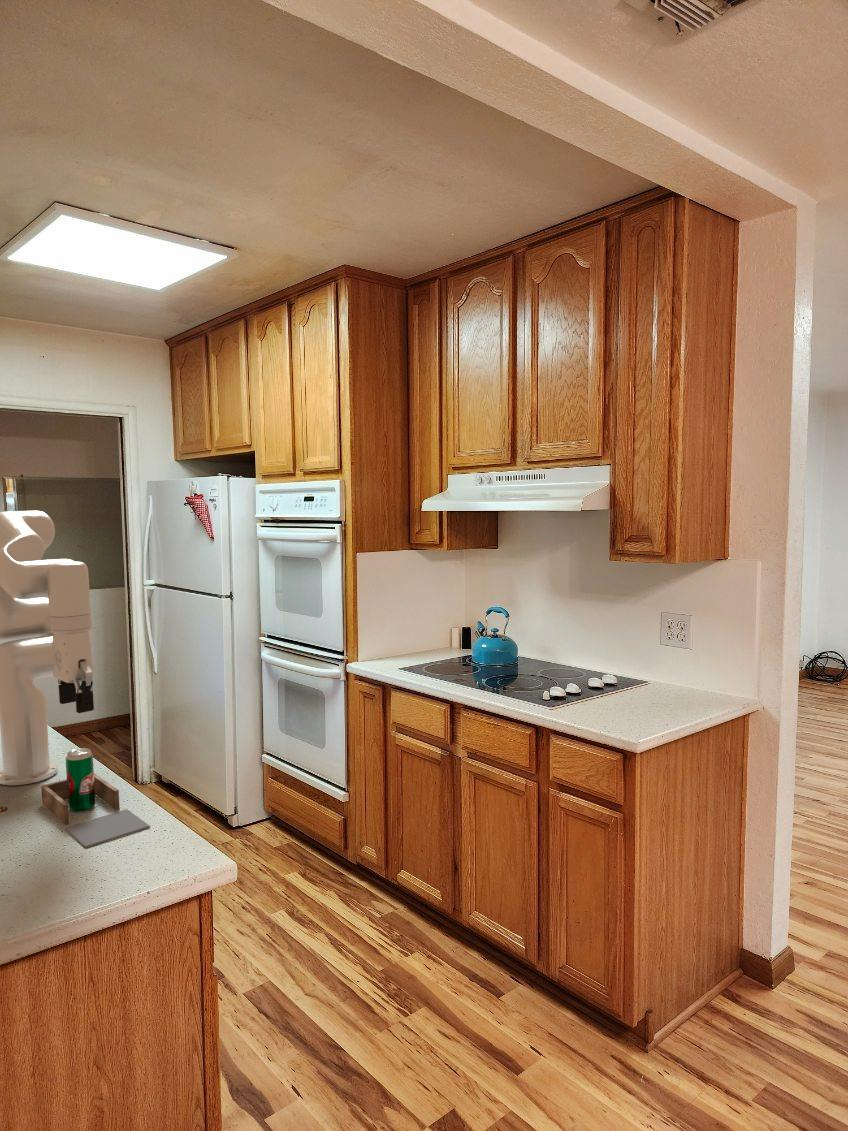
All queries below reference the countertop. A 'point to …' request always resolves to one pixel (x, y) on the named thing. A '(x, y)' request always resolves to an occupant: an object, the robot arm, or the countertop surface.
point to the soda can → (80, 780)
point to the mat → (106, 828)
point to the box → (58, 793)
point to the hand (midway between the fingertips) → (76, 707)
